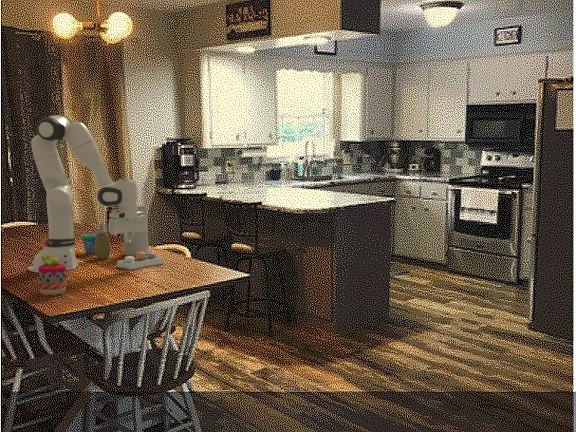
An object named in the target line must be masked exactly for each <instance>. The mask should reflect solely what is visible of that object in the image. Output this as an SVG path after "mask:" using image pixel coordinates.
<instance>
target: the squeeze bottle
mask: <svg viewBox="0 0 576 432" xmlns="http://www.w3.org/2000/svg"><path fill="white" fill-rule="evenodd" d="M98 229H99V230H97V231H96V233H97V235H96V236H95V248H94V252H95V254H94V255H95V258H97V259H98V260H105V259H109V257H110V254H111V245H110V238H109V234H107V231H108V230H106V229H105V227H104V224H103V223H100V224H99V227H98Z"/></svg>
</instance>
